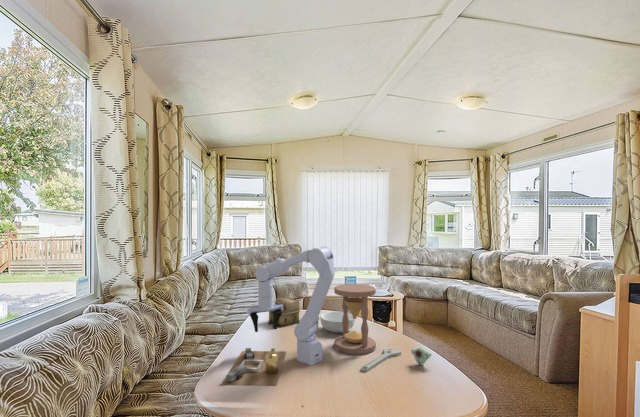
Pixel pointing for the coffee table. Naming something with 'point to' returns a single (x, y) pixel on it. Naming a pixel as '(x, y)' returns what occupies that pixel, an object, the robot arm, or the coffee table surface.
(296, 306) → the miniature house
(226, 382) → the tan wooden flat board
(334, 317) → the cereal bowl
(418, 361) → the robot head
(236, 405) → the coffee table surface
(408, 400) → the coffee table surface
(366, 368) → the adjustable wrench
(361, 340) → the hourglass
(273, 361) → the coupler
